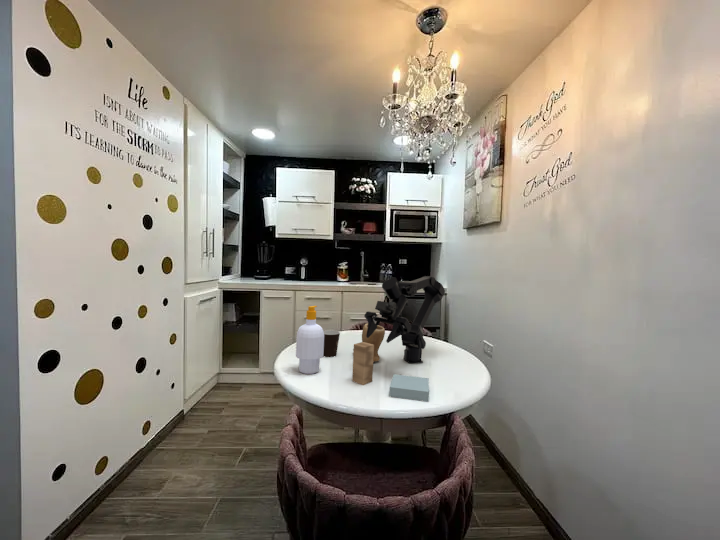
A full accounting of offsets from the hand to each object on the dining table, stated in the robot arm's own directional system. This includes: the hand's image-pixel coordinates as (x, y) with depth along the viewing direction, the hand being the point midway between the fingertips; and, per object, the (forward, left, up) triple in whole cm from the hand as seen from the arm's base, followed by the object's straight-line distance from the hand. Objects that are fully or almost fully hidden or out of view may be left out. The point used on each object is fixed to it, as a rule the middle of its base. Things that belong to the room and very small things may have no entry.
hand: (376, 339), depth 119 cm
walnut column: (+6, +4, -13) cm, 15 cm away
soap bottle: (+23, -9, -14) cm, 28 cm away
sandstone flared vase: (-4, -21, -14) cm, 25 cm away
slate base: (-7, +15, -13) cm, 21 cm away
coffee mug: (+11, -29, -14) cm, 34 cm away
